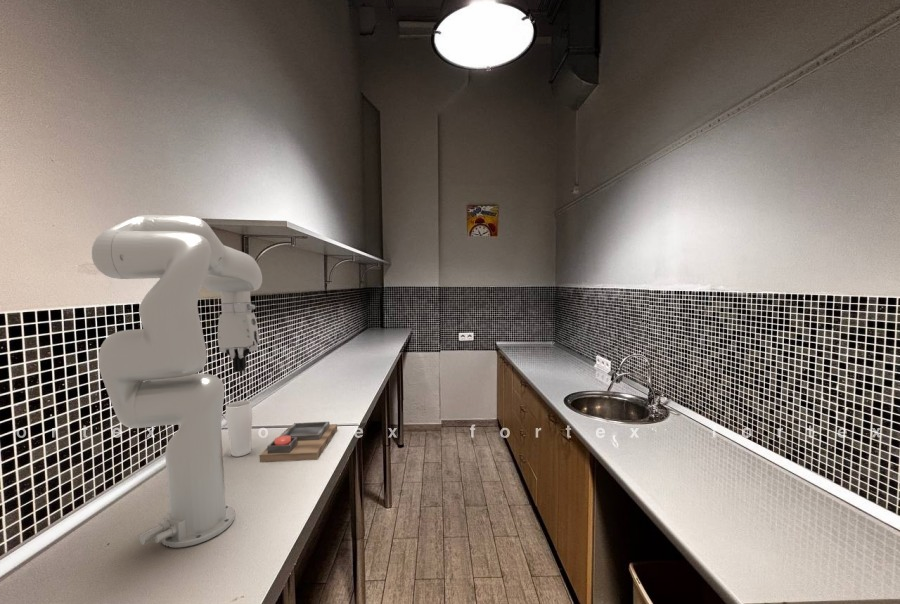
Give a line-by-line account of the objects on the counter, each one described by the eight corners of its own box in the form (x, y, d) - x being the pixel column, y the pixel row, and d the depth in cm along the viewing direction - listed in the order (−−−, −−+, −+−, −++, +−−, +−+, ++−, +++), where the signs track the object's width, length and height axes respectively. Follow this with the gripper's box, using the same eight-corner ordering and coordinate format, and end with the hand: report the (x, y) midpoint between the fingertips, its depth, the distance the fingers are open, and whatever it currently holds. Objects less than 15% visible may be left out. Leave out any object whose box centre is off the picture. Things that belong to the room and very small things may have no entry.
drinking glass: (232, 460, 107) (230, 409, 107) (225, 454, 112) (222, 404, 111) (257, 452, 112) (255, 403, 112) (249, 446, 117) (246, 399, 116)
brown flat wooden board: (317, 459, 107) (316, 445, 106) (259, 462, 106) (258, 448, 106) (337, 430, 128) (336, 418, 128) (289, 432, 128) (289, 420, 128)
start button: (287, 449, 108) (287, 441, 108) (272, 450, 108) (271, 441, 108) (293, 442, 112) (293, 435, 112) (278, 443, 112) (278, 435, 112)
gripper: (268, 307, 114) (271, 367, 115) (218, 309, 114) (221, 369, 115) (255, 309, 107) (259, 373, 107) (202, 310, 106) (206, 375, 107)
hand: (239, 371), depth 111 cm, fingers closed
